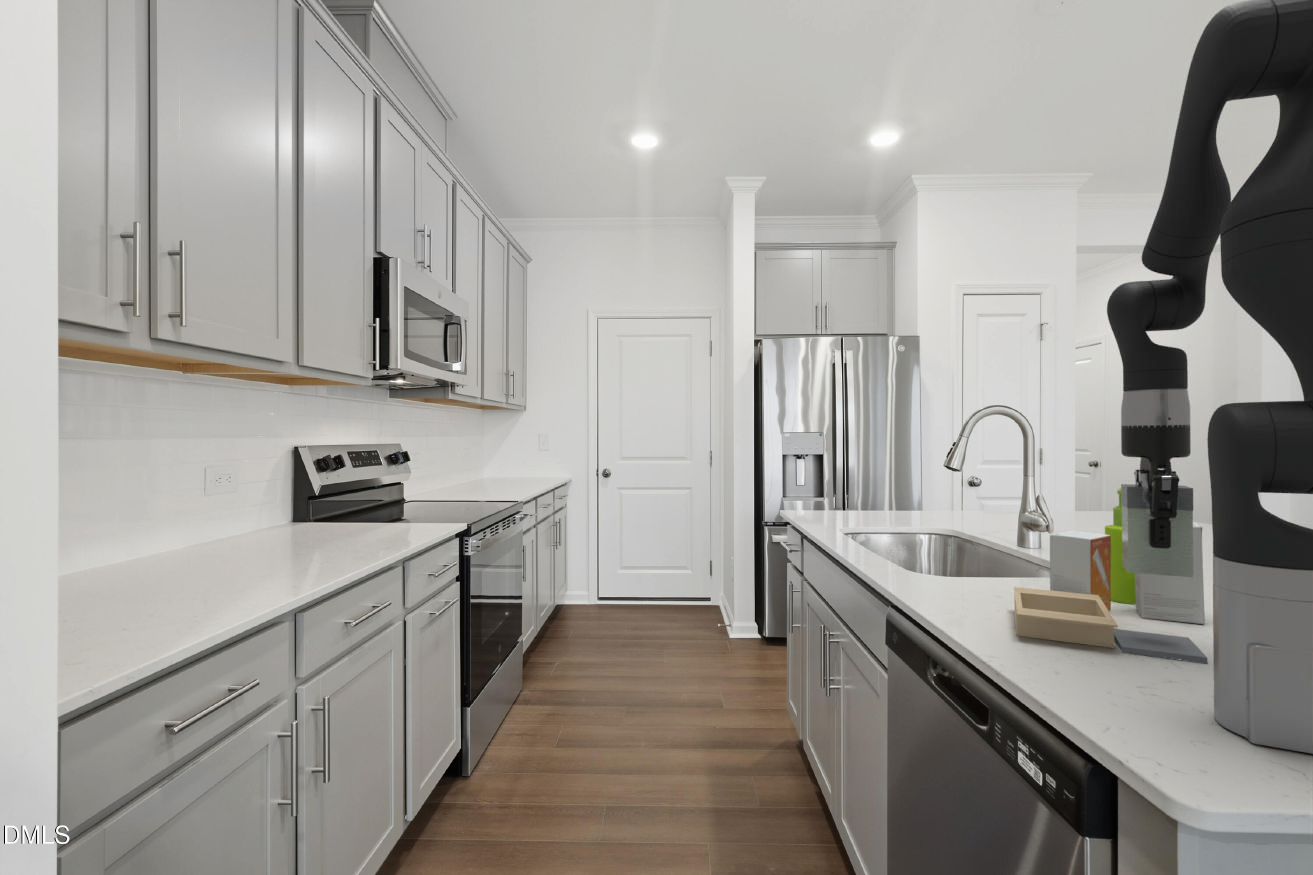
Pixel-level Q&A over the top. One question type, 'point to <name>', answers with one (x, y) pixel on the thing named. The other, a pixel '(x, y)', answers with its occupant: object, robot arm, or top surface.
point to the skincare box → (1174, 591)
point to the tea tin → (1136, 535)
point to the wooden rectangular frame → (1063, 617)
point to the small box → (1081, 564)
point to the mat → (1158, 645)
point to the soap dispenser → (1119, 562)
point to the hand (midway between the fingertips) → (1155, 544)
